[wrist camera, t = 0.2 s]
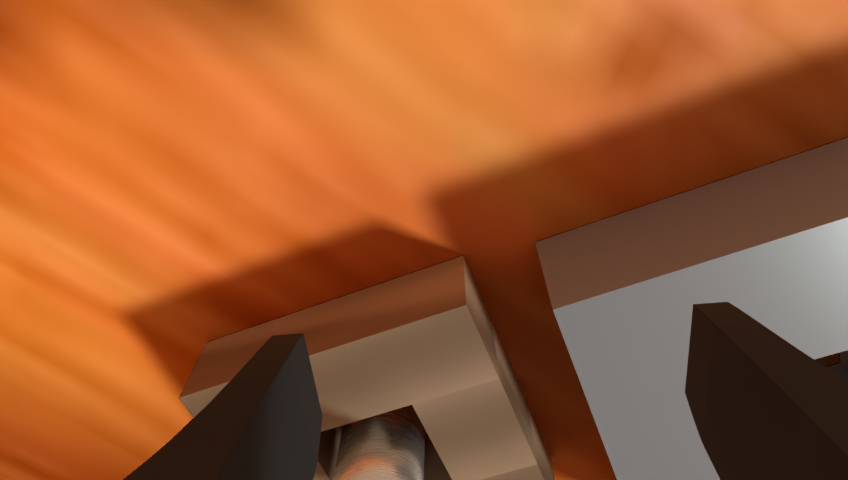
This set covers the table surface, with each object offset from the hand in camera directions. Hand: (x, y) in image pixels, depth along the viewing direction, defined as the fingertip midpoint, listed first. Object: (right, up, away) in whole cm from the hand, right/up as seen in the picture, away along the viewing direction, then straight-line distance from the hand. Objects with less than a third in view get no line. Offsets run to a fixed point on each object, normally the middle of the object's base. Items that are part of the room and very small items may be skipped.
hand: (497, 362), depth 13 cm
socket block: (-3, -4, +13) cm, 14 cm away
